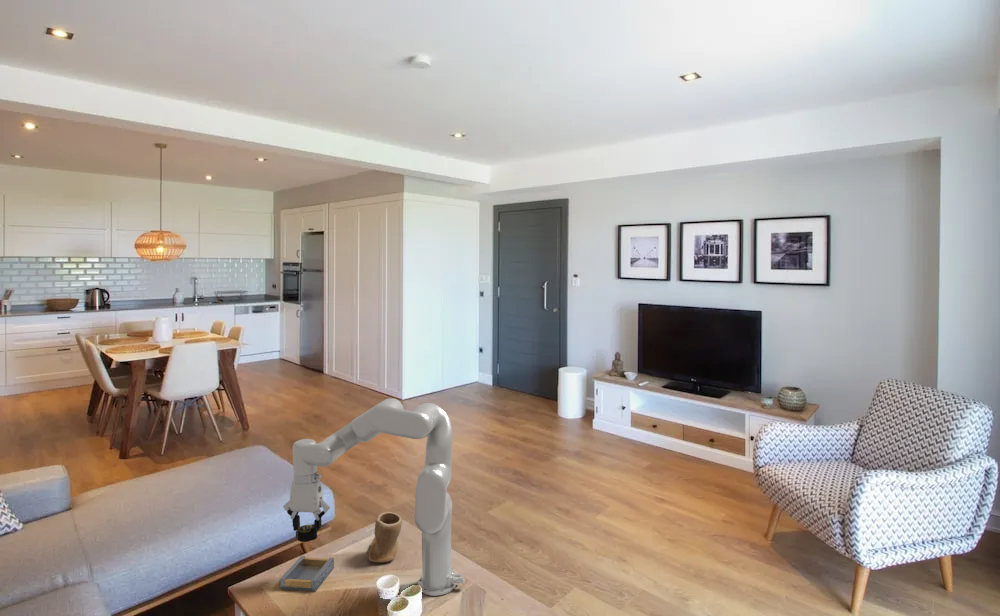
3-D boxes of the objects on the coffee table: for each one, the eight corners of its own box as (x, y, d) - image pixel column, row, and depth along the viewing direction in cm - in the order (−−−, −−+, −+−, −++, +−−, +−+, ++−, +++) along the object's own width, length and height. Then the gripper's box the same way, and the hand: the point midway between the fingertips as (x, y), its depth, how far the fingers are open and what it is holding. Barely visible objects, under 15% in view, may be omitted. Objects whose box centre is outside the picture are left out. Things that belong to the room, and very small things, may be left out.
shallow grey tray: (334, 567, 188) (334, 558, 187) (315, 591, 174) (315, 581, 173) (301, 565, 189) (301, 555, 189) (280, 588, 175) (280, 578, 175)
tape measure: (317, 542, 178) (317, 531, 178) (295, 545, 176) (294, 534, 176) (317, 532, 185) (317, 522, 184) (296, 535, 183) (296, 525, 182)
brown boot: (400, 564, 189) (399, 523, 188) (365, 565, 189) (364, 524, 188) (405, 543, 205) (404, 504, 204) (373, 544, 204) (372, 505, 203)
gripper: (335, 474, 182) (336, 525, 183) (286, 472, 184) (288, 522, 185) (325, 482, 174) (327, 536, 175) (274, 480, 176) (276, 533, 177)
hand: (307, 529), depth 180 cm, fingers closed on tape measure, 6 cm apart
